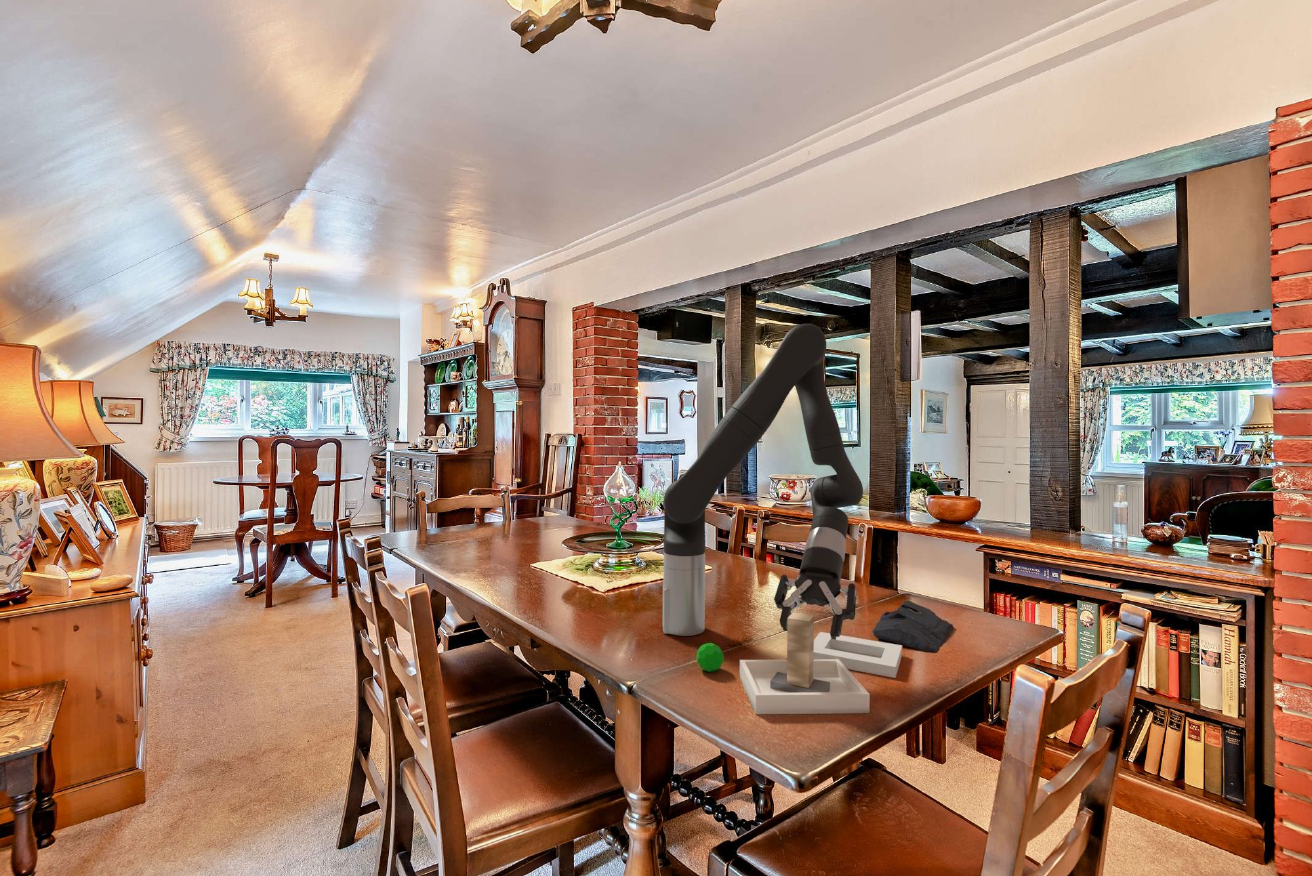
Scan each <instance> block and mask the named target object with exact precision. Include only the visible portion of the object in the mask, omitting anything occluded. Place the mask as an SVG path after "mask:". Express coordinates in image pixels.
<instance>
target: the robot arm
mask: <svg viewBox="0 0 1312 876" xmlns="http://www.w3.org/2000/svg"><path fill="white" fill-rule="evenodd" d="M826 351H827V339H826V335H825V333H824V332H823V330H822V329H821V328H820V327H819V326H817V325H815V324H813V323H802V324H799V325H796V326H794V327H792V328H791V329H790V330H789V331H788V332H786V334H785V336H784V338H782V340H781V342H780V344H779V346H778V348H777V349H776V350H775V352H774V354H773V356H772V357H771V358H770V360H769V361H768V363H767V364H766V365H765V367H764V369H762V371H761V372H760V373H759V374H758V376H757V377H755V379H754V380H753V381H752V382H751V383H750V384H749V385H748V387H747V388H746V389H745V390H744V391H743V392H742V393H741V395H740V396H739V397H738V398H737V400H735V402H734V403H733V404H732V405H731V407H730V408H729V409H728V410H727V412H726V413H725V414H724V415H723V417H722V418H721V419H720V421H719V423H718V424H717V425H716V427H715V428H714V430H713V432H712V433H711V435H710V437H709V438H708V440H707V442H706V444H705V446H704V447H703V449H702V450H701V453H700V455H699V456H698V457H697V458H696V460H695V461H694V462H693V464H692V465H691V466H689V468H687V470H686V471H685V472H684V474H683V475H682V476H681V477H679V478H678V479H677V480H675V481H673V482H671V483H670V484H669V486H668V487H667V489H666V490H665V493H664V496H663V510H664V511H663V513H664V515H663V516H664V519H663V522H664V523H663V524H664V525H663V526H664V527H663V583H662V631H663V634H670V635H674V636H682V637H688V636H689V637H690V636H697V635H699V634H702V633H704V632H705V629H706V628H705V626H706V624H705V623H706V617H705V615H706V614H705V613H706V609H705V607H706V509H707V508H708V505H709V503H710V502H711V501H712V500H713V497H714V495H715V494H716V493H717V491H718V489H719V488H720V486H721V485H722V483H723V482H724V481H725V479H726V478H727V477H728V476H729V474H731V472H732V471H734V469H735V468H737V467H738V465H740V463H741V462H742V461H743V460H744V459H745V458H746V457H747V455H748V454H749V453H750V452H751V451H752V449H753V448H754V447H755V446H756V445H757V444H758V442H759V441H760V439H762V437H763V436H764V435H765V433H766V432H767V431H768V429H769V427H770V426H771V425H772V423H773V422H774V420H775V418H776V417H777V415H778V414H779V412H780V410H781V408H782V406H783V405H784V403H785V401H786V399H787V398H788V396H789V395H790V392H791V391H792V390H793V389H794V388H795V390H796V393H797V397H798V400H799V405H800V409H801V413H802V414H801V415H802V419H803V425H804V430H805V435H806V441H807V445H808V448H809V452H810V453H809V454H810V458H811V460H812V463H813V464H814V465H816V466H829V467H831V468H832V469H833V470H834V471H835V473H836V474H831V475H826V476H822V477H819V478H816V480H814V481H813V483H812V485H811V486H810V490H809V491H810V499H811V509H812V520H811V524H810V525H811V526H810V530H809V534H808V535H807V536H808V537H807V539H806V542H805V546H804V549H803V553H802V554H803V556H802V560H801V565H800V569H799V573H798V576H797V577H796V578H790V577H788V576H787V575H786V574H782V575H781V576H780V578H779V582H778V585H777V588H776V592H775V594H774V597H773V601H774V604H775V606H776V608H777V609H779V610H781V613H780V617H779V624H780V627H781V628H782V631H784V632H787V618H788V617H789V616H790V615H791V614H792V613H793V612H794V610H796V609H797V608H800V607H801V606H803V604H806V605H809V606H813V605H815V606H818V607H822V608H823V607H825V606H827V605H828V607H829V609H830V611H831V612H832V613H833V615H832V620H831V626H830V632H829V633H830V636H831V639H834V640H836V637H839V636H840V635H842V628H843V622H844V621H846V620H849V621H852V620H855V618H856V607H857V606H856V605H857V594H858V593H857V588H856V584H854V583H853V582H852V583H849V584H848V585H843V584H840V583H841V579H842V571H843V567H844V566H843V565H844V562H845V558H846V556H845V555H846V554H845V553H846V540H847V535H848V529H849V517H848V515H847V514H846V512H844V511H843V510H842V509H840V508H845V507H853V506H856V505H858V504H860V502H861V501H862V499H863V496H864V487H863V483H862V481H861V479H860V477H859V475H858V473H857V472H856V470H855V469H854V467H853V465H852V463H851V461H850V458H849V456H848V455H847V453H846V450H845V446H844V442H843V438H842V433H841V430H840V426H839V422H838V420H837V416H836V413H835V411H834V409H833V405H832V404H831V401H830V397H829V394H828V390H827V387H826V382H825V375H824V374H825V373H824V371H825V370H824V358H825V354H826ZM793 587H795V590H794V591H792V592H791V594H790V596H789V597H787V594H788V592H789V591H791V589H792V588H793ZM841 593H842V594H843V595H844V598H845V599H846V607H845V608H843V609H842V608H841V607H840V605H839V604H838V602H837V599H836V598H838V596H839V595H841Z"/></svg>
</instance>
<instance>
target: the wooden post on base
mask: <svg viewBox="0 0 1312 876" xmlns="http://www.w3.org/2000/svg"><path fill="white" fill-rule="evenodd" d="M791 613H792V614H791V615H790V616H789V617H788V618H787V631H786V633H787V635H786V639H787V642H786V649H787V650H786V660H787V674H786V673H781V672H777V673H776V674H775V676H774V677H773V678H772V680H771V681H770V688H771V689H776V690H781V691H785V692H790V693H801V692H829V690H830V682H827V681H822V680H817V679H813V662H814V639H815V635H814V634H815V615H814V614H808V613H800V612H794V611H792V612H791Z"/></svg>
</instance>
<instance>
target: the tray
mask: <svg viewBox="0 0 1312 876" xmlns="http://www.w3.org/2000/svg"><path fill="white" fill-rule="evenodd" d="M777 672H781V673H786V674H787V659H739V678H740V681H741V683H742V685H743V688H744V691H745V693H746V695H747V697H748V700H749V703H750V704H751V707H752V710H753V711H754V714H755V715H804V714H805V715H806V714H807V715H816V714H817V715H818V714H823V715H824V714H829V715H831V714H870V700H871V699H870V698H871V697H870V696H871V695H870V693H869V692H868V690H866V688H865V687H864V686H863V685H862V684H861V683H860V682H859V681H858V680H857V678H856V677H855V676H854V675H853V674H852V673H851V672H850V669H847V668H846V667H845V666H844V665H843V664H842V662H841V661H840V660H839V659H814V662H813V679H817V680H822V681H827V682H830V690H829V692H801V693H790V692H785V691H781V690H776V689H771V688H770V681H771V680H772V678H773V677H774V676H775V674H776V673H777Z"/></svg>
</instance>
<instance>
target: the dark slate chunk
mask: <svg viewBox="0 0 1312 876" xmlns="http://www.w3.org/2000/svg"><path fill="white" fill-rule="evenodd" d="M954 629H955V627H954V625H953V624H952V623H950V622H949V621H947V620H944V619H942V618H941V617H939V616H938V615H937V614H936V613H935V612H934V611H932V610H931V609H930V608H928V607H924V606H923V605H920V604H917V603H915V602H912V601H911V600H904V601H903V602H902V604H900V605H899V607H897V609H895V610H893V611H892V610H891V611H885V612H883V613H882V614H881V616H880V618H879V621H877V622H876V624H875V627H874V628H873V629H872V634H873V636H874V637H875V638H877V639H879V640H881V641H882V640H883V641H887V642H891V643H896V644H897V645H902V646H904V647H907V648H911V649H915V650H917V651H921V652H927V653H935V654H936V653H937V652H938V651H940V648H941V647H942V646H943V645H944V644H945V643H946V642H947V640H948V639H949V637H950V636H951V634H952V632H953V631H954Z"/></svg>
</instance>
